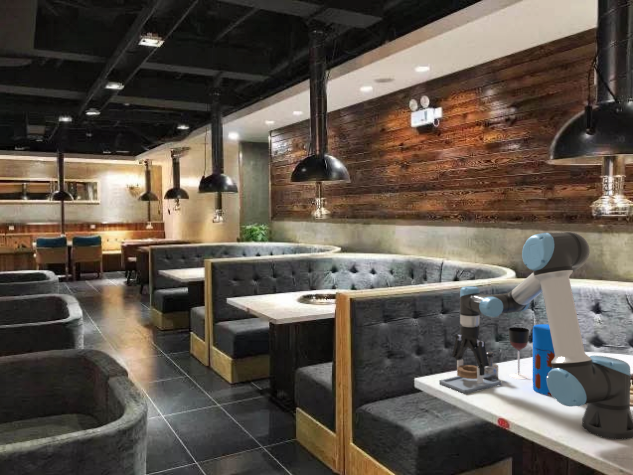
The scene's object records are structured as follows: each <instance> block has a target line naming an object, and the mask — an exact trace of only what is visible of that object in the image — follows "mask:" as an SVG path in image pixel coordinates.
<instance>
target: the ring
mask: <svg viewBox="0 0 633 475" xmlns="http://www.w3.org/2000/svg"><path fill="white" fill-rule="evenodd" d="M477 367H478V365H477V366H476V365H472V364H463V365H462V366H459V367H456V376H457V375H458V376H460V377H463V378H467V379H477Z"/></svg>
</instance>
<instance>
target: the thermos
mask: <svg viewBox="0 0 633 475" xmlns="http://www.w3.org/2000/svg"><path fill="white" fill-rule="evenodd" d="M554 357H555V352H554V347H553V342H552V337H551V332H550V327H549V323H545V324H544V323H543V324H541V323H540V324H534V325H533V327H532V390H533V391H534V392H535V393H536V394H540V395H544V396H545V395H546V396H552V395H551V393H550V391H549V389H548V386H547V376H548V373H549V372H550V371H551V370H552V364H551V361H552V360H553V359H554Z"/></svg>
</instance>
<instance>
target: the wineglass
mask: <svg viewBox="0 0 633 475" xmlns="http://www.w3.org/2000/svg"><path fill="white" fill-rule="evenodd" d="M529 337H530V330H529V329H528V328H526V327H525V328H524V327H520V326H519V327H518V326H517V327H516V326H514V327H513V326H512V327H509V328H508V339H509V343H510V345H511V346H512V347H513V348H514V349H515V350H517V373H510V374H509V375H508V376H509V378H511V379H516V380H527V379H529V376H528V375H526V374H523V373H520V372H521V371H520V366H521V365H520V364H521V358H520V354H521V353H520V351H521V350H523V349H525V348H526V347H527V346H528V344H529V343H528V342H529Z"/></svg>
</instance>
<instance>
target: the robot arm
mask: <svg viewBox="0 0 633 475" xmlns="http://www.w3.org/2000/svg"><path fill="white" fill-rule="evenodd" d="M590 251H591V250H590V246H589V243H588V242H587V240H586V238H585V237H583V235H580V234H579V233H575V232H572V231H571V232H570V231H567V232H565V231H563V232H541V233H536V234H533V235H531V236H530V237H528V238H527V239H526V241H525V243H524V244H523V247H522V251H521V258H522V261H523V264H524V265H525V266H526V268H527V269H529V270H531V271H532V273H531V274H529V275H528V276H527V277H526V278H524V280H522V281H521V282H520V283H519V284H518V285H516V287H514V288H513V289H512V290H510V291H509V292H508V293H499V294H488V295H487V294H482V293H481V292H480V291H481V290H480V288H479V287H478V286H474V285H473V286H472V285H471V286H469V285H466V286H462V287H460V290H459V292H460V294H459V306H460V308H459V313H460V314H459V316H460V317H459V318H460V319H459V320H460V321H459V324H460V325H459V326H460V327H459V329H460V330H459V334H456V335H455V341H454V347H453V351H452V354H451V357H453V358H455V360H456V362H455V366H456V368H457V367H459V366H462V365H464V359H463V357H464V354H465V353H466V351H467V348H468V349H469V350H470V351H471V352H472V353H473V355H474V358H475V361H476V364H477V366H478V367H477V383H478V384H479V383H483V375H484V368H485V367H487V366H489V363H488V358H487V354H486V352H487V350H486V341H485V340H480V339H479V335H480V331H481V330H480V328H481V327H480V315H483V316H487V317H488V318H489V317H491V318H498V317H499V316H500V315H501V314H509V313H520V312H525V311H527V310H528V309H529V306H530V303H531V302H532V301H533V300H535V299H536V298H537V297H538V296H540V295H541V294H542V296H543V297H542V298H543V302H544V308H545V312H546V316H547V321H548V325H549V327H550V332H551V337H552V342H553V347H554V352H555V357H554V359H553V360H552V361H551V364H552V370H551V371H550V372H549V373H548V376H547V386H548V389H549V391H550V393H551V395H550V396H551V397H552V398H554V399H555V400H556V401H557V402H558V403H559V404H561V405H563V406H565V407H582V406H584V405H586V408H585V411H584V412H583V415H582V420H581V426H582V429H584V430H585V431H586V432H587V433H590V434H592V435H594V436H597V437H600V438H605V439H609V440H617V441H619V440H620V441H621V440H622V441H623V440H630V439H633V414H632V410H631V377H632V374H631V367H630V364H629V363H628V362H627V361H625V360H621V359H618V358H615V357H609V356H605V355H604V356H603V355H590V356H589V355H588V354H586V352H585V347H584V342H583V337H582V333H581V328H580V323H579V319H578V314H577V309H576V306H575V301H574V295H573V289H572V286H571V281H570V276H571V275H572V273H575V272H576V271H577V270H579V269H580V268H581V267H582V266H584V264H586V262H587V261H588V259H589V257H590ZM456 376H458V375H457V374H456Z"/></svg>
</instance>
